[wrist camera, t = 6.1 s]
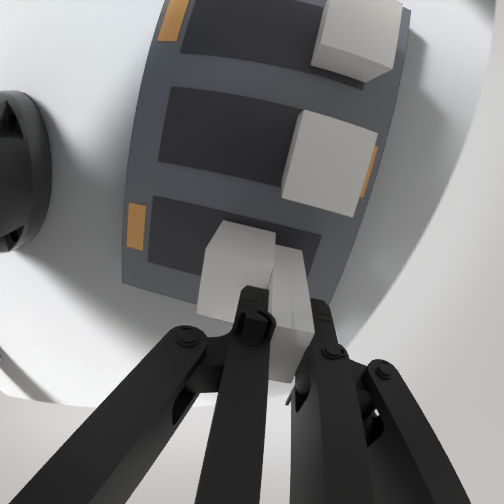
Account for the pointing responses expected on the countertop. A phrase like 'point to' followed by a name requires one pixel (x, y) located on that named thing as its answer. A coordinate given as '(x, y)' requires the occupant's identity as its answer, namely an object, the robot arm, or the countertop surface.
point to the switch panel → (238, 139)
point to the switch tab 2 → (358, 37)
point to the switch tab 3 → (327, 163)
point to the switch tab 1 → (234, 268)
